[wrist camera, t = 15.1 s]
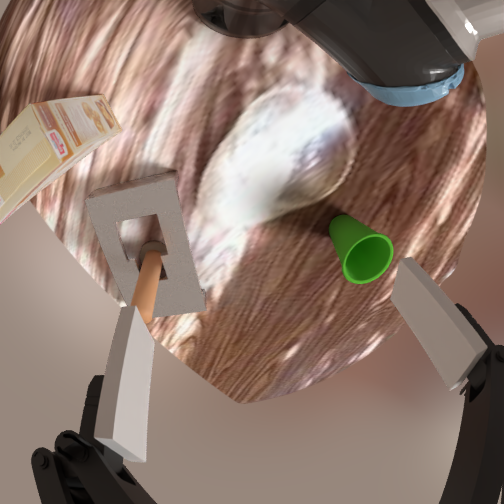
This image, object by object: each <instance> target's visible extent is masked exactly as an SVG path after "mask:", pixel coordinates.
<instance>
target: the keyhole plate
mask: <svg viewBox="0 0 504 504" xmlns="http://www.w3.org/2000/svg"><path fill="white" fill-rule="evenodd" d="M178 179H179V176H178V171H173V172H168V173H163V174H158V175H153V176H149V177H144V178H140V179H136V180H131V181H127V182H123V183H119V184H115V185H111V186H107V187H104V188H100V189H96V190H94V191H93V192H92V193H91V194H90V195H89V196H88V197H87V198H86V199H85V203H86V206H87V209H88V212H89V215H90V218H91V221H92V223H93V226H94V229H95V232H96V234H97V237H98V240H99V242H100V245H101V247H102V250H103V253H104V255H105V257H106V260H107V262H108V265H109V267H110V269H111V272H112V274H113V276H114V279H115V281H116V283H117V285H118V288H119V290H120V292H121V294H122V296H123V298H124V300H125V303H126V305H127V306H130V305H131V301H132V298H133V294H134V291H135V287H136V284H137V280H138V277H139V273H140V268H139V265H138V263H137V260H136V258H132V259H128V256H127V254H126V251H125V248H124V245H123V243H122V240H121V237H120V234H119V231H118V228H117V225H116V222H119V221H124V220H128V219H133V218H138V217H143V216H148V215H153V214H157V216H158V219H159V223H160V227H161V230H162V234H163V238H164V241H165V244H166V248H167V251H168V252H167V253H161V259H162V262H163V265H164V268H165V271H166V274H167V277H161V278H159V282H158V287H157V293H156V298H155V303H154V309H153V315H152V318H155V317H163V316H171V315H178V314H186V313H193V312H200V311H207V309H206V292H205V290H201V286H200V282H199V279H198V275H197V271H196V267H195V263H194V259H193V255H192V251H191V247H190V243H189V239H188V235H187V231H186V227H185V222H184V218H183V214H182V209H181V205H180V200H179V196H178V191H177V186H176V185H177V182H178Z"/></svg>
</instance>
